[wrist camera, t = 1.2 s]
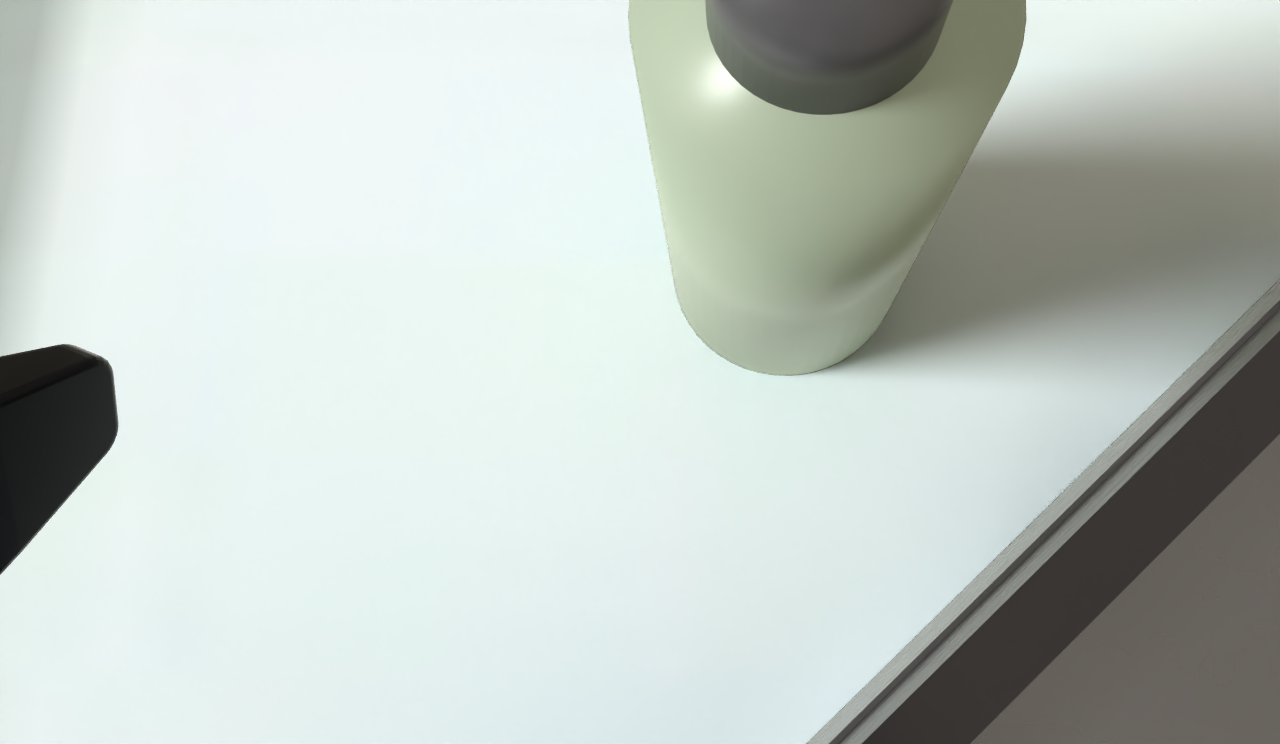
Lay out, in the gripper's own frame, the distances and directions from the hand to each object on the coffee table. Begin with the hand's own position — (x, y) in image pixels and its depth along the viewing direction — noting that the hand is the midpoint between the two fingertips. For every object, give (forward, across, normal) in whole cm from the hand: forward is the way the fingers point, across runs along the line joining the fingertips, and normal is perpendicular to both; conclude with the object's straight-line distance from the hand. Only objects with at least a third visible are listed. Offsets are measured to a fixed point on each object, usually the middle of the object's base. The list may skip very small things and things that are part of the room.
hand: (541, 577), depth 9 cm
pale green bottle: (+15, 0, +4) cm, 15 cm away
